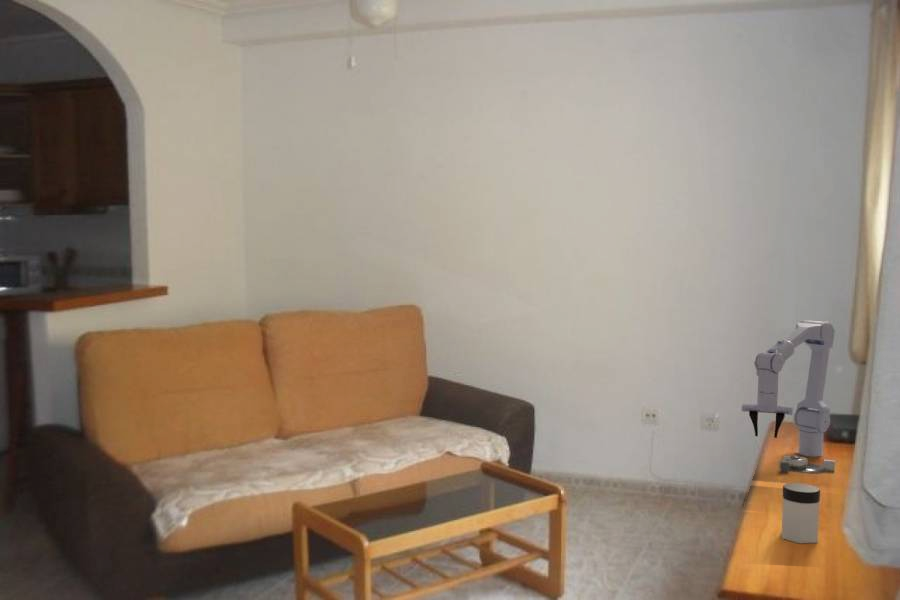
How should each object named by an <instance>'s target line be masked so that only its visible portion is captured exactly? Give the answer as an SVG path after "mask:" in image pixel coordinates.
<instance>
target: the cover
mask: <svg viewBox="0 0 900 600" xmlns="http://www.w3.org/2000/svg"><path fill="white" fill-rule="evenodd" d="M782 461H789V469H794V470H804V469H807V463H809V461H808V457H807V458H806V457H804V456H800V455H795V454H791V455H784V456H782Z"/></svg>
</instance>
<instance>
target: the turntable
mask: <svg viewBox="0 0 900 600" xmlns="http://www.w3.org/2000/svg"><path fill="white" fill-rule="evenodd" d="M835 464H836V461H835V460H833V459H823V465H820V464H816V463H809V462H807V469H804V470H794V469H788V471H791V472H795V473H802V474H809V475H810V474H816V475H818V474H826V473H828V472H835V471H836V468H835V466H836V465H835Z"/></svg>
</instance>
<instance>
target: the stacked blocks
mask: <svg viewBox="0 0 900 600" xmlns="http://www.w3.org/2000/svg"><path fill="white" fill-rule="evenodd" d="M779 462H780V463H779V468H780V474H788V475H789V470H788V469H789V461H783V460H780V461H779Z"/></svg>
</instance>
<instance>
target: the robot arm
mask: <svg viewBox="0 0 900 600" xmlns="http://www.w3.org/2000/svg"><path fill="white" fill-rule="evenodd" d="M835 332H836V330H835V327H834V326H833V324H832V323H831V322H830V321H819V320H817V321H816V320H807V319H801V320H800V321H798V322H797V323H796V325H795V330H794V331H793V332H792V333H791V334H790V335H789V336H788V337H787V338H786V339H778V340H777V341H776V343H775V344H774V345H772V346H771V347H770V348H769V349H768V350H766V351H760V353H758V354H757V355H756V357H755V361H754V367H755V370H756V377H758V379H757V380H758V381H757V398H756V399H757V403H756V404H746V403H742V404H741V412H744V413H745V412H749V413H748V414H749V418H750V420H751V422H752V426H753V429H754V437H758V435H759V430H758V429H759V428H758V426H759V425H758V424H759V423H758V421H759V419H758V418H759V416H758V415H759V413H763V414H775V426H774V427H775V428H774V434H773V435H774V439H778V434H779V430H780V427H781V425H782V423H783V421H784V419H785V416H786V415H788V416H793V423H794V425H795V427H796V429H797V430H799V431H798V451H796V454H799V455H801V456H805V457H815V458H817V457H823V455H824V453H823V451H824V450H823V449H824V448H823V447H824V433H825V432H826V431H827V430H828V429H829V427H830V424H831V415H830V414H831V409H830V408H829V406H828V405H827V404H825V402H824V401H823V400H824V392H825V386H826V380H827V379H826V378H827V372H828V365H829V357H830V350H831V349H832V348H833V345H834V340H835ZM803 343H804V344H805V345H806V346H807V347H809V348H810V350H811V355H810V361H809V368H808V369H809V370H808V377H807V382H806V383H807V384H806V391H805V398H804V399H803V400H801V401H800V402H798V403H797V405H796V410H795V412H794V411H793V410H794V408H793V407H787V406H781V405H778V398H779V397H778V395H779V393H778V392H779V391H778V390H779V373H780V372H782V371H783V368H784V366H785V363H786V361H787V360H788V359H790V358H791V357H792V356H793V355H794V353H795V349H796V348H798V346H800V345H801V344H803ZM793 412H794V414H793Z"/></svg>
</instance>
